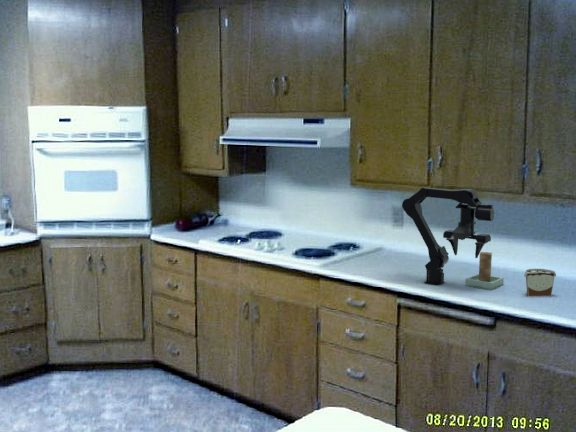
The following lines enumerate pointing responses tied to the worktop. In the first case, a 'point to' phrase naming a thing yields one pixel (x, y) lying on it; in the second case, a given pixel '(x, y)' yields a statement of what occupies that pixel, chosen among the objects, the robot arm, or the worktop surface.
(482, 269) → the walnut post
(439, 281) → the robot arm
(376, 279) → the worktop surface
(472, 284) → the tray
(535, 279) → the food container
